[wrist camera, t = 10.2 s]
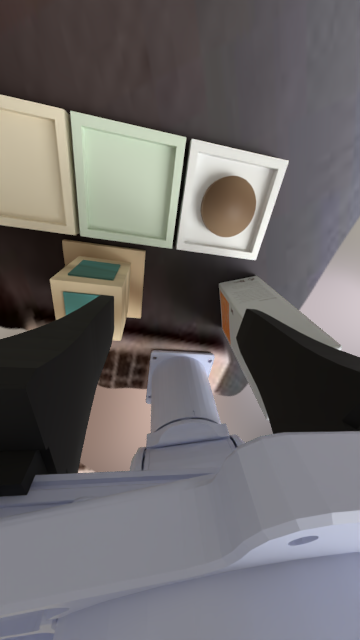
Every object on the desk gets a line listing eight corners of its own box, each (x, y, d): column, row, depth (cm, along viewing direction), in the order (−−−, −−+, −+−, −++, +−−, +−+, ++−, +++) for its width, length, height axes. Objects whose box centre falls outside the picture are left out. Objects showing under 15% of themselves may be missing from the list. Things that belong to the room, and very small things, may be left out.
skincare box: (216, 282, 22) (271, 359, 11) (256, 274, 22) (347, 344, 11) (220, 329, 25) (266, 423, 15) (255, 322, 25) (325, 411, 15)
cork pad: (141, 315, 23) (140, 318, 22) (72, 309, 22) (70, 312, 21) (145, 250, 19) (145, 251, 19) (64, 239, 18) (61, 240, 18)
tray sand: (79, 233, 18) (75, 235, 17) (-21, 219, 17) (-32, 220, 16) (70, 115, 14) (63, 109, 13) (-60, 85, 13) (-79, 76, 12)
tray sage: (171, 245, 19) (171, 248, 18) (84, 233, 18) (80, 236, 17) (184, 141, 16) (186, 137, 15) (76, 116, 14) (70, 110, 13)
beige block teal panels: (129, 306, 21) (120, 341, 16) (82, 301, 21) (57, 337, 15) (131, 261, 19) (121, 286, 14) (78, 254, 18) (48, 277, 13)
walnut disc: (242, 238, 19) (246, 240, 18) (196, 231, 18) (198, 233, 18) (258, 182, 17) (263, 181, 16) (206, 171, 16) (209, 170, 15)
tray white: (250, 257, 21) (255, 260, 20) (175, 246, 19) (176, 249, 18) (280, 163, 17) (288, 160, 16) (189, 142, 16) (191, 138, 15)
